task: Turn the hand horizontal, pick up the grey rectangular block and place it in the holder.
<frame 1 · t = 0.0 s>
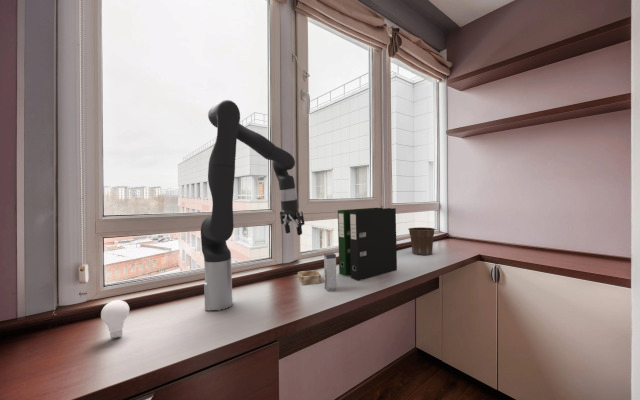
hand: (293, 233, 126), 22 cm above the worktop, tool pointing down, fingers open, 8 cm apart
grey rectangular block: (330, 289, 116), on the worktop
light bulb: (116, 338, 80), on the worktop
lever arch files: (369, 272, 140), on the worktop
holder: (309, 281, 128), on the worktop
plant pot: (421, 253, 179), on the worktop
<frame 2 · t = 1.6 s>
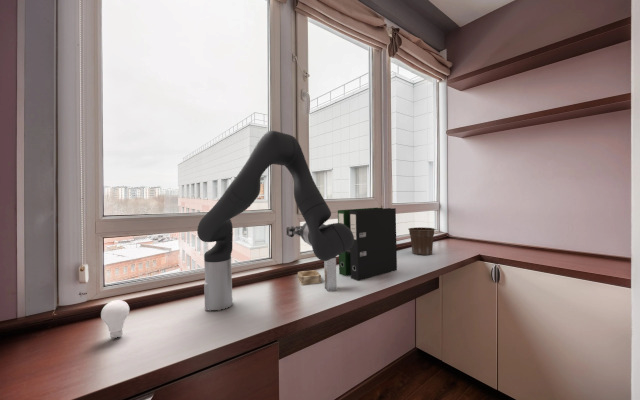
hand: (303, 228, 100), 28 cm above the worktop, tool horizontal, fingers open, 8 cm apart
nothing on the worktop moved.
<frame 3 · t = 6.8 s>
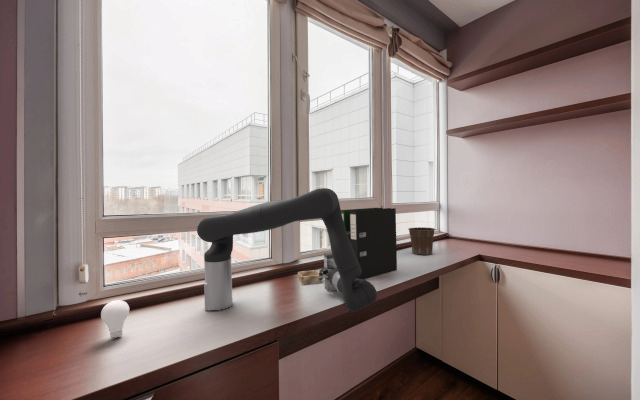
hand: (328, 268, 119), 8 cm above the worktop, tool horizontal, fingers closed on grey rectangular block, 4 cm apart
grey rectangular block: (330, 289, 116), on the worktop, touching gripper
everything else where it was.
when the fingers open (10 cm above the worktop, at t = 10.7 s): grey rectangular block drops 1 cm, resting on holder.
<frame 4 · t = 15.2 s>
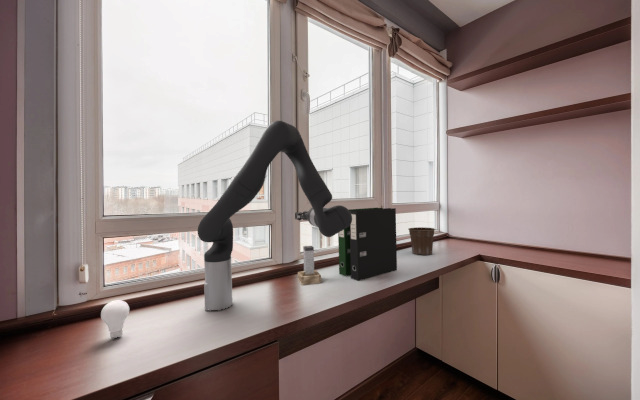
hand: (309, 214, 114), 32 cm above the worktop, tool horizontal, fingers open, 8 cm apart
grey rectangular block: (309, 278, 128), point 1 cm above the worktop, touching holder
everything else where it was.
at the end: grey rectangular block 0.1 cm off-centre on the holder, point 1.0 cm above the holder's base; grey rectangular block tilted 0°; the gripper is holding nothing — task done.
